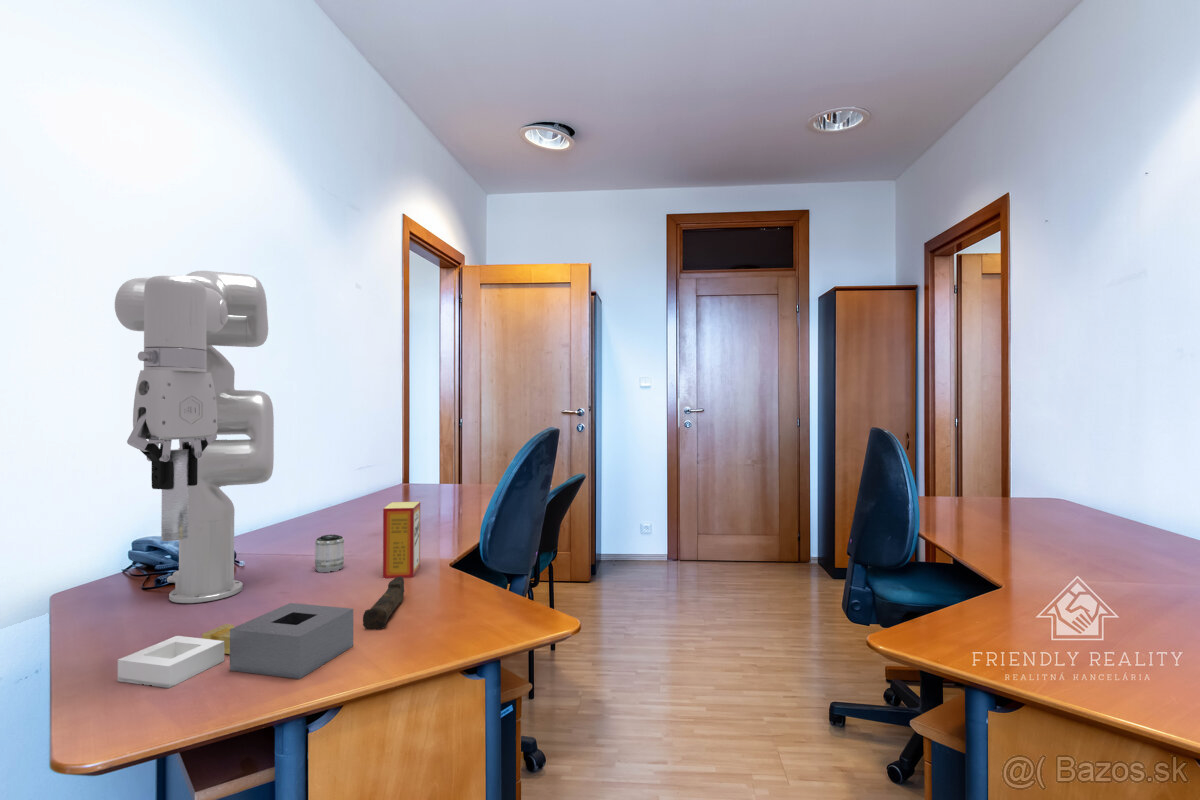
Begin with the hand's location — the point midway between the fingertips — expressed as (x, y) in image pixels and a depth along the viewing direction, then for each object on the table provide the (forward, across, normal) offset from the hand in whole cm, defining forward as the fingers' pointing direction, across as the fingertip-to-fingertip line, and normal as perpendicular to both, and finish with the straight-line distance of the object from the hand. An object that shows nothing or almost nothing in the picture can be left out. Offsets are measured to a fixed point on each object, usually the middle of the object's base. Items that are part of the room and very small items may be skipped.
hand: (175, 485), depth 87 cm
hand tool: (+28, +30, -16) cm, 43 cm away
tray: (+27, 0, 0) cm, 27 cm away
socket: (+27, +8, -14) cm, 31 cm away
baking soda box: (+27, +54, -4) cm, 61 cm away
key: (+27, +8, -5) cm, 29 cm away
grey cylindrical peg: (+8, 0, 0) cm, 8 cm away
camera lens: (+27, +52, +14) cm, 60 cm away
